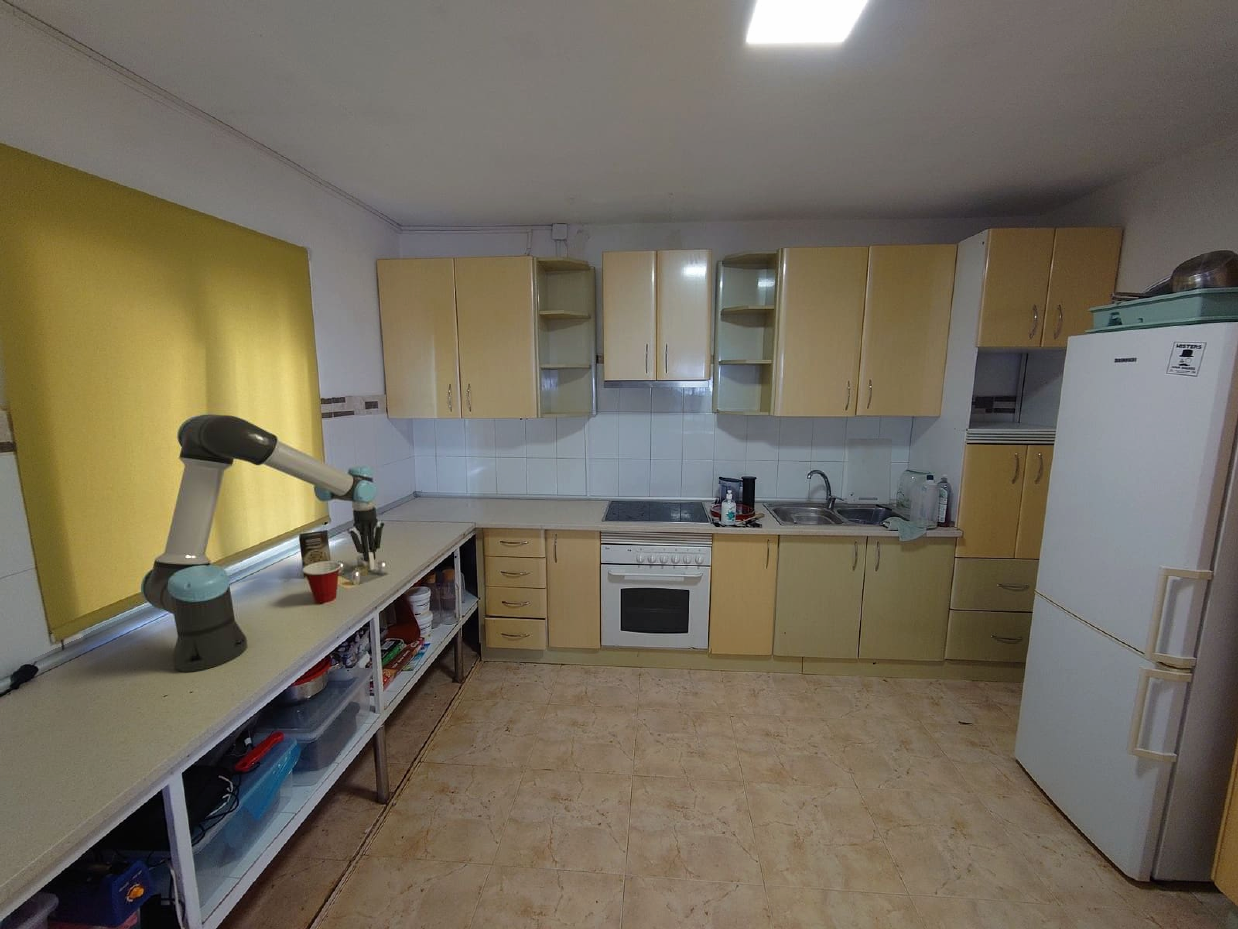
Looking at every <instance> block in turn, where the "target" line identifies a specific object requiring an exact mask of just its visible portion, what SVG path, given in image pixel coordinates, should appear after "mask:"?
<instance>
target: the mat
mask: <svg viewBox="0 0 1238 929" xmlns="http://www.w3.org/2000/svg"><path fill="white" fill-rule="evenodd" d="M355 568H356V567H355ZM355 568H351V569H348V570H345V572H346V574H344V575H341V576H338V584H337V586H339V587H341V588H344V589H347V590H349V589H352V588H355V587H357V586H360V585H364V584H365V583H368V582H371V581H374V580H377V579H380V578H383V577H385V576H388V575H389V573H387V574H386V575H383V576H380V575H379V571H378V569H376V568H375V569H373V570H369V575H366V576H363V577H361V584H359V585H352V578H351V572H352V571H354V570H355Z"/></svg>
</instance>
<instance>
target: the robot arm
mask: <svg viewBox="0 0 1238 929" xmlns="http://www.w3.org/2000/svg"><path fill="white" fill-rule="evenodd" d="M177 430H178V431H177V436H176V438H177V441H178V444H179V445H180V447H181V448H180V453H179V457H178V459H179V460H180V462H181V463H182V464H183V465H184V466H183V467H184V468H183V472H182V476H181V481H180V485H179V488H178V493H177V497H176V502H175V506H174V509H173V514H172V520H171V523H170V526H169V531H168V535H167V540H166V544H165V547H164V548H165V549H164V552H163V553H162V554H160V555H158V556H157V557H155V559H154V563H153V566H152V569H151V570H149V571H148V572H147V573H146V574H145V575H144V577H143V579H142V581H141V583H140V592H141V595H142V597H143V598H144V599H145V601H147V602H148V603H149V604H150V605H151V606H152V607H155V608H156V609H160V610H163V611H165V612H168V613H170V614H172V615H173V618H174V623H175V624H174V625H175V628H176V629H175V630H176V633H177V639H176V642H175V646H174V647H175V648H174V651H173V656H172V664H173V668H174V670H176V671H178V672H183V673H184V672H185V673H186V672H187V673H188V672H189V673H190V672H198V671H203V670H207V669H210V668H214V667H217V666H221V665H223V664H225V663H227V662H229V661H231V660H233V659H235V658H237V657H239V656H240V655H242V654H243V653H244V652H245V651H246V650H247V648H248V647H249V646H248V644H249V643H248V640H247V636H246V634H245V633H244V632H243V630H242V629H241V627H240V625H239V624H238V623H237V622H236V619H235V611H234V606H233V599H232V594H231V593H232V592H231V588H230V579H229V577H228V573H227V571H226V569H224V568H223V567H222V566H218V565H211V560H210V558H209V557H208V556H207V555H206V552H207V548H208V543H209V539H210V535H211V531H212V525H213V523H214V522H213V521H214V517H215V512H216V509H217V504H218V500H219V495H220V491H221V486H222V482H223V477H224V473H225V471H226V470H227V469H229V468H231V467H232V466H233V464H234V460H239V461H244V462H248V463H251V464H252V465H255V466H262V465H264V466H267V467H270V469H271V468H272V469H273V470H276V471H279V472H282V473H283V474H286V475H289V476H291V477H293V478H296V479H298V480H300V481H303V482H306V483H308V484H309V485H313V492H314V495H315V498H316V499H317V500H318V501H321V502H327V501H328V502H330V501H332V500H339V501H346V502H351V505H352V506H351V508H352V509H353V510H352V516H353V524H352V525H353V526H352V527H351V528H350V529H348V530H347V534H349V535H350V537H351V539H352V542H353V545H354V546H355V549H356V552H357V553H359V554H362V555H363V557H364V561H365V562H366V566H369V570H373V569H376V567H375V560H376V559H377V558H376V557H377V556H376V552H377V550H379V549H380V548H381V541H382V533H383V528H384V526H385V522H381V521H378V518H377V508H376V507H375V506H376V499H375V498H376V495H377V492H378V490H377V487H376V485H375V484H374V480H373V479H374V478H373V471H372V468H371V466H367V465H360V466H359V465H357V466H352V467H349V468H348V471H347V472H345V471H343V470H341V469H338V468H336V467H335V466H333V465H330V464H327V463H326V462H323V461H322V460H320V459H318V458H315V457H313V456H311V455H309V454H307V453H306V452H305V453H304V452H303V451H301V450H299V449H297V448H294V447H292V446H290V445H288V444H286V443H283V442H282V441H279V438H278V436H277V435H275V434H273V433H271V432H269V431H268V430H266V429H264V428H262V427H259V426H258V425H256V424H254V423H252V422H249V421H248V420H245V419H243V418H241V417H239V416H235V415H227V414H223V415H222V414H211V413H206V414H199V415H195V416H191V417H190V418H188V419H186V420H185V421H184V422H183V423H181V425H180V426H179V428H178V429H177ZM358 533H359V536H360V538H359V536H358Z"/></svg>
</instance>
